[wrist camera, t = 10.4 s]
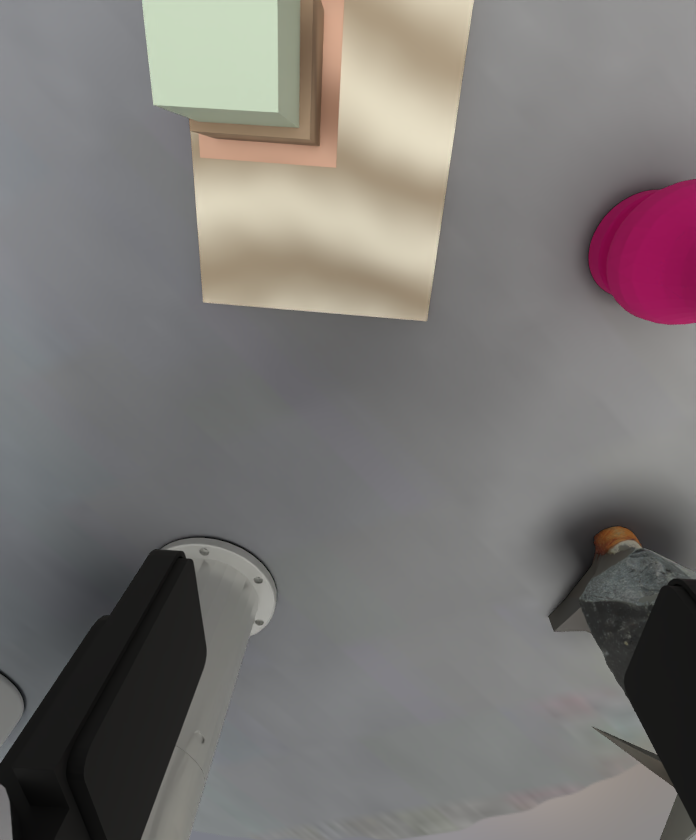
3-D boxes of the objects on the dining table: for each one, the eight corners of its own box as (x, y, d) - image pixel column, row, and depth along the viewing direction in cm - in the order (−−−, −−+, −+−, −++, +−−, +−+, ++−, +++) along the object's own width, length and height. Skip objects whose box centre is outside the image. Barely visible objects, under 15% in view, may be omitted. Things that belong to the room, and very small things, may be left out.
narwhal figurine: (746, 532, 37) (1021, 790, 21) (622, 645, 44) (760, 907, 28) (596, 466, 36) (772, 694, 20) (491, 594, 42) (557, 842, 26)
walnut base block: (319, 146, 26) (309, 139, 23) (216, 138, 27) (190, 130, 23) (324, 10, 24) (313, -21, 20) (209, 3, 24) (178, -30, 20)
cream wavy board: (425, 317, 31) (426, 321, 30) (208, 299, 32) (202, 302, 31) (472, -10, 24) (476, -19, 23) (185, -28, 24) (177, -37, 23)
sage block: (299, 127, 23) (278, 112, 18) (198, 121, 23) (153, 105, 18) (300, -6, 20) (277, -61, 16) (188, -12, 20) (134, -68, 16)
